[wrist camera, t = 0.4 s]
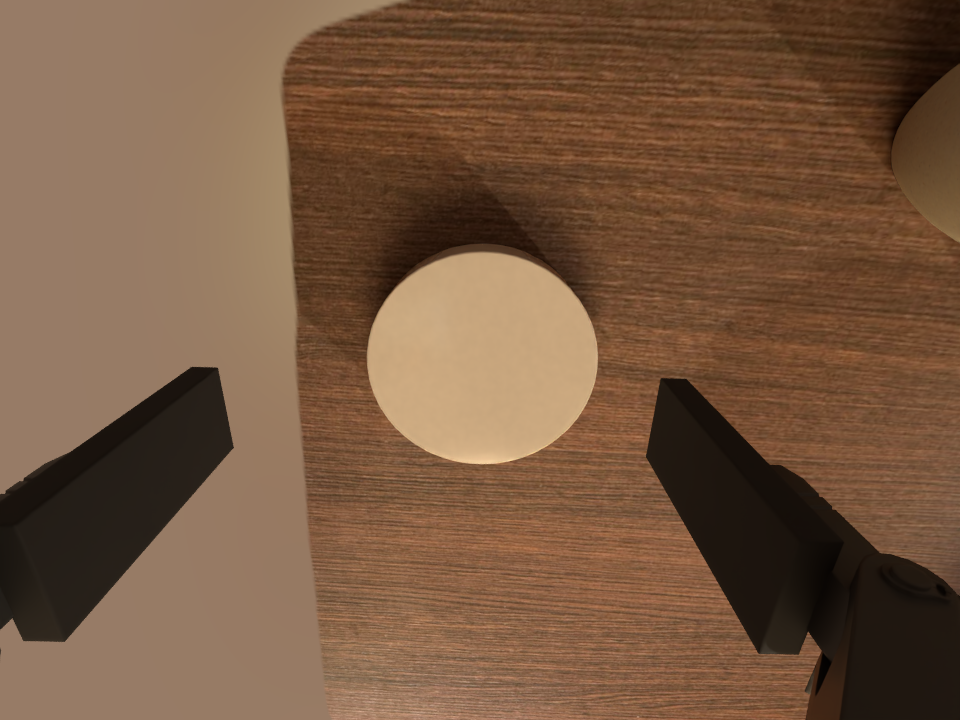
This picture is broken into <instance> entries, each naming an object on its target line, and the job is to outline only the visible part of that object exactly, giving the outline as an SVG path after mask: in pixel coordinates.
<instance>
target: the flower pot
mask: <svg viewBox="0 0 960 720" xmlns="http://www.w3.org/2000/svg"><path fill="white" fill-rule="evenodd" d="M891 164H892V170H893V173H894V175H895V178H896V180H897V182H898V184H899V186H900V188H901V190H902V191H903V193H904V194H905V196H906V197H907V199H908V200H909V201H910V202H911V204H912V205H913V206H914V207H915V208H916V209H917V210H918V211H919V212H920V213H921V214H922V215H923V216H924V217H925V218H926V219H927V220H928V221H929V222H930V223H932V224H933V225H934V226H935V227H937V228H938V229H939V230H940V231H942V232H943V233H945V234H946V235H948V236H949V237H951V238H952V239H954V240H956V241H957V242H959V243H960V63H959V64H958V65H957V66H955V67H954V68H953V69H952V70H950V71H949V72H948V73H947V74H945V75H944V76H943V77H942V78H941V79H940V80H938V81H937V82H936V83H935V84H934V85H933V86H932V87H931V88H930V89H929V90H928V91H927V92H926V93H925V94H924V95H923V96H922V97H921V98H920V99H919V100H918V101H917V102H916V103H915V104H914V106H913V107H912V108H911V109H910V110H909V112H908V113H907V114H906V116H905V117H904V119H903V120H902V122H901V124H900V126H899V128H898V130H897V132H896V135H895V138H894V141H893V145H892V150H891Z"/></svg>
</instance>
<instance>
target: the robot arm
mask: <svg viewBox="0 0 960 720" xmlns="http://www.w3.org/2000/svg"><path fill="white" fill-rule="evenodd" d="M233 448H234V447H233V442H232V437H231V432H230V427H229V422H228V417H227V412H226V406H225V401H224V396H223V391H222V387H221V381H220V376H219V371H218V368H212V367H211V368H210V367H191V368H190V369H188V370H187V371H185V372H184V373H182V374H181V375H180V376H178V377H177V378H175V379H174V380H172V381H171V382H170V383H168V384H167V385H165V386H164V387H163V388H161V389H160V390H158V391H157V392H155V393H154V394H153V395H151V396H150V397H148V398H147V399H145V400H144V401H143V402H141V403H140V404H138V405H137V406H135V407H134V408H133V409H131V410H130V411H128V412H127V413H125V414H124V415H123V416H121V417H120V418H118V419H117V420H116V421H114V422H113V423H111V424H110V425H109V426H107V427H105V428H104V429H103V430H101V431H100V432H98V433H97V434H95V435H94V436H93V437H91V438H90V439H88V440H87V441H86V442H84V443H83V444H81V445H80V446H78V447H77V448H75V449H74V450H73V451H71V452H69V453H67V454H65V455H63V456H61V457H59V458H56V459H54V460H52V461H50V462H48V463H46V464H44V465H42V466H41V467H40V468H38V469H37V470H35V471H34V472H32V473H31V474H29V475H28V476H27V477H25V478H24V481H19V482H18V483H16V484H15V485H13V486H12V487H10V488H9V489H8V490H6V493H5V494H0V629H1V628H3V626H5V625H6V624H7V623H8V622H9V621H10V620H11V619H12V618H13V620H14V622H15V624H16V626H17V628H18V631H19V633H20V635H21V637H22V639H23V641H54V642H57V641H58V642H65V641H66V640H67V638H68V637H69V636H70V635H71V634H72V633H73V632H74V630H75V629H76V628H77V627H78V626H79V625H80V624H81V622H82V621H83V620H84V619H85V618H86V617H87V616H88V614H89V613H90V612H91V611H92V610H93V609H94V607H95V606H96V605H97V604H98V603H99V602H100V601H101V599H102V598H103V597H104V596H105V595H106V594H107V592H108V591H109V590H110V589H111V588H112V587H113V586H114V585H115V583H116V582H117V581H118V580H119V579H120V578H121V576H122V575H123V574H124V573H125V572H126V570H128V568H129V567H130V566H131V565H132V564H133V563H134V562H135V560H136V559H137V558H138V557H139V556H140V555H141V553H142V552H143V551H144V550H145V549H146V548H147V547H148V545H149V544H150V543H151V542H152V541H153V540H154V539H155V537H156V536H157V535H158V534H159V533H160V532H161V531H162V529H163V528H164V527H165V526H166V525H167V524H168V522H169V521H170V520H171V519H172V518H173V517H174V516H175V514H176V513H177V512H178V511H179V510H180V508H182V506H183V505H184V504H185V503H186V502H187V501H188V499H189V498H190V497H191V496H192V495H193V494H194V493H195V491H196V490H197V489H198V488H199V487H200V486H201V485H202V483H203V482H204V481H205V480H206V479H207V477H208V476H209V475H210V474H211V473H212V472H213V471H214V470H215V468H216V467H217V466H218V465H219V464H220V463H221V461H222V460H223V459H224V458H225V457H226V456H227V455H228V454H229V452H230V451H231V450H232V449H233ZM646 458H647V459H648V461H649V463H650V465H651V466H652V468H653V470H654V472H655V473H656V475H657V477H658V479H659V480H660V482H661V484H662V486H663V487H664V489H665V491H666V493H667V494H668V496H669V498H670V500H671V501H672V503H673V505H674V507H675V508H676V510H677V512H678V514H679V515H680V517H681V519H682V520H683V522H684V524H685V526H686V527H687V529H688V531H689V533H690V534H691V536H692V538H693V540H694V541H695V543H696V545H697V547H698V548H699V550H700V552H701V554H702V555H703V557H704V559H705V561H706V562H707V564H708V566H709V568H710V569H711V571H712V573H713V575H714V576H715V578H716V580H717V582H718V583H719V585H720V587H721V589H722V590H723V592H724V594H725V596H726V597H727V599H728V601H729V603H730V604H731V606H732V608H733V610H734V611H735V613H736V615H737V617H738V618H739V620H740V622H741V624H742V625H743V627H744V629H745V631H746V632H747V634H748V636H749V638H750V639H751V641H752V643H753V645H754V646H755V648H756V650H757V652H758V653H759V654H794V655H799V652H800V650H801V647H802V645H803V643H804V640H805V638H806V635H807V633H808V632H809V633H810V635H811V636H812V637H813V639H814V640H815V642H816V643H817V645H818V646H819V647H820V649H821V650H822V652H821V654H820V656H819V659H818V661H817V663H816V666H815V668H814V670H813V673H812V675H811V677H810V680H809V682H808V684H807V687H806V689H805V692H806V693H808V694H810V699H809V704H808V710H807V715H806V720H960V596H959V595H957V594H956V592H955V591H954V590H953V589H952V588H951V587H950V586H949V585H948V584H947V583H946V582H945V581H944V580H943V579H941V578H940V577H938V576H937V575H935V574H934V573H932V572H931V571H929V570H928V569H926V568H924V567H922V566H920V565H918V564H916V563H914V562H912V561H910V560H907V559H904V558H901V557H898V556H894V555H891V554H882V553H879V552H878V551H877V550H876V549H875V548H874V547H873V546H872V545H871V544H870V543H869V542H868V541H867V540H866V539H865V538H864V537H863V536H862V535H861V534H860V533H859V532H858V531H857V530H856V529H855V528H854V527H853V526H852V525H850V524H849V523H848V522H847V521H846V520H845V519H844V518H843V517H842V516H841V515H840V514H839V513H838V512H837V511H836V510H832V506H831V505H830V504H829V503H828V502H827V501H826V500H825V499H824V498H823V497H819V494H818V493H817V492H816V491H815V490H814V489H813V488H812V487H811V486H810V485H809V484H808V483H807V482H806V481H805V480H804V479H803V478H801V477H800V476H798V475H796V474H795V473H793V472H791V471H790V470H788V469H786V468H785V467H783V466H781V465H769V464H768V463H767V462H766V461H765V460H764V459H763V458H762V457H761V456H760V454H759V453H758V452H757V451H756V450H755V449H754V448H753V447H752V446H751V445H750V444H749V443H748V442H747V441H746V440H745V439H744V438H743V437H742V436H741V435H740V434H739V433H738V432H737V431H736V430H735V429H734V428H733V427H732V426H731V425H730V424H729V422H728V421H727V420H726V419H725V418H724V417H723V416H722V415H721V414H720V413H719V412H718V411H717V410H716V409H715V408H714V407H713V406H712V405H711V404H710V403H709V402H708V401H707V400H706V399H705V398H704V397H703V396H702V395H701V394H700V393H699V392H698V390H697V389H696V388H695V387H694V386H693V385H692V384H691V383H690V382H689V381H688V380H687V379H668V378H661V380H660V385H659V390H658V396H657V401H656V406H655V412H654V417H653V422H652V428H651V433H650V438H649V444H648V449H647V454H646ZM0 653H1V650H0Z"/></svg>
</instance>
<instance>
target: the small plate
mask: <svg viewBox="0 0 960 720" xmlns="http://www.w3.org/2000/svg"><path fill="white" fill-rule="evenodd" d="M597 366H598V350H597V340H596V336H595V332H594V328H593V325H592V323H591V320H590V318H589V316H588V313H587V311H586V310H585V308H584V306H583V305H582V303H581V301H580V300H579V298H578V297H577V295H576V294H575V293H574V291H573V290H572V288H571V287H570V286H569V285H568V283H567V282H566V281H565V280H564V278H563V277H562V276H561V275H559V274H558V273H557V272H556V271H555V270H554V269H553V268H552V267H550V266H549V265H548V264H546V263H545V262H543V261H542V260H540V259H539V258H537V257H535V256H533V255H531V254H529V253H527V252H524V251H521V250H518V249H515V248H512V247H507V246H503V245H497V244H484V243H483V244H467V245H462V246H457V247H452V248H450V249H447V250H444V251H441V252H438V253H436V254H434V255H432V256H430V257H428V258H426V259H424V260H423V261H422V262H420V263H419V264H417V265H416V266H414V267H413V268H412V269H411V270H410V271H408V272H407V273H406V274H405V275H404V276H403V277H402V278H401V279H400V281H399V282H398V283H397V284H396V285H395V287H394V288H393V289H392V291H391V292H390V294H389V295H388V297H387V298H386V300H385V301H384V303H383V304H382V306H381V308H380V309H379V311H378V313H377V315H376V318H375V320H374V322H373V324H372V328H371V332H370V335H369V339H368V347H367V369H368V375H369V380H370V384H371V387H372V390H373V393H374V395H375V398H376V400H377V402H378V404H379V406H380V408H381V409H382V411H383V412H384V414H385V415H386V417H387V418H388V420H389V421H390V422H391V423H392V424H393V425H394V427H395V428H396V429H397V430H398V431H399V432H400V433H402V434H403V435H404V436H405V437H406V438H407V439H409V440H410V441H411V442H413V443H414V444H416V445H417V446H419V447H421V448H422V449H424V450H426V451H428V452H430V453H432V454H435V455H437V456H440V457H442V458H446V459H449V460H453V461H458V462H463V463H471V464H495V463H501V462H508V461H512V460H515V459H519V458H522V457H525V456H527V455H530V454H532V453H535V452H537V451H539V450H540V449H542V448H544V447H546V446H548V445H549V444H550V443H552V442H553V441H555V440H556V439H558V438H559V437H560V436H561V435H562V434H563V433H564V432H565V431H566V430H568V429H569V427H570V426H571V425H572V424H573V423H574V422H575V420H576V419H577V418H578V416H579V415H580V413H581V412H582V410H583V409H584V407H585V405H586V403H587V401H588V399H589V397H590V395H591V392H592V389H593V386H594V383H595V379H596V373H597Z"/></svg>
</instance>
